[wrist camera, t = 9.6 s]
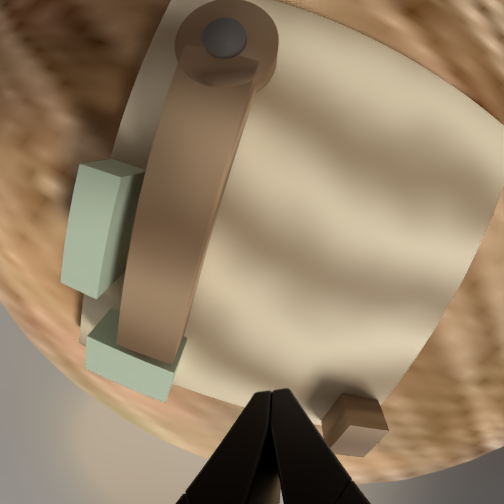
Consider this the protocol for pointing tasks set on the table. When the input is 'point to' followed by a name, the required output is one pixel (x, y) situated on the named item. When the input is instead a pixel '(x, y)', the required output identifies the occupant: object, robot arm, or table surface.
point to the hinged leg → (191, 168)
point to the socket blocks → (109, 270)
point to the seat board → (326, 222)
